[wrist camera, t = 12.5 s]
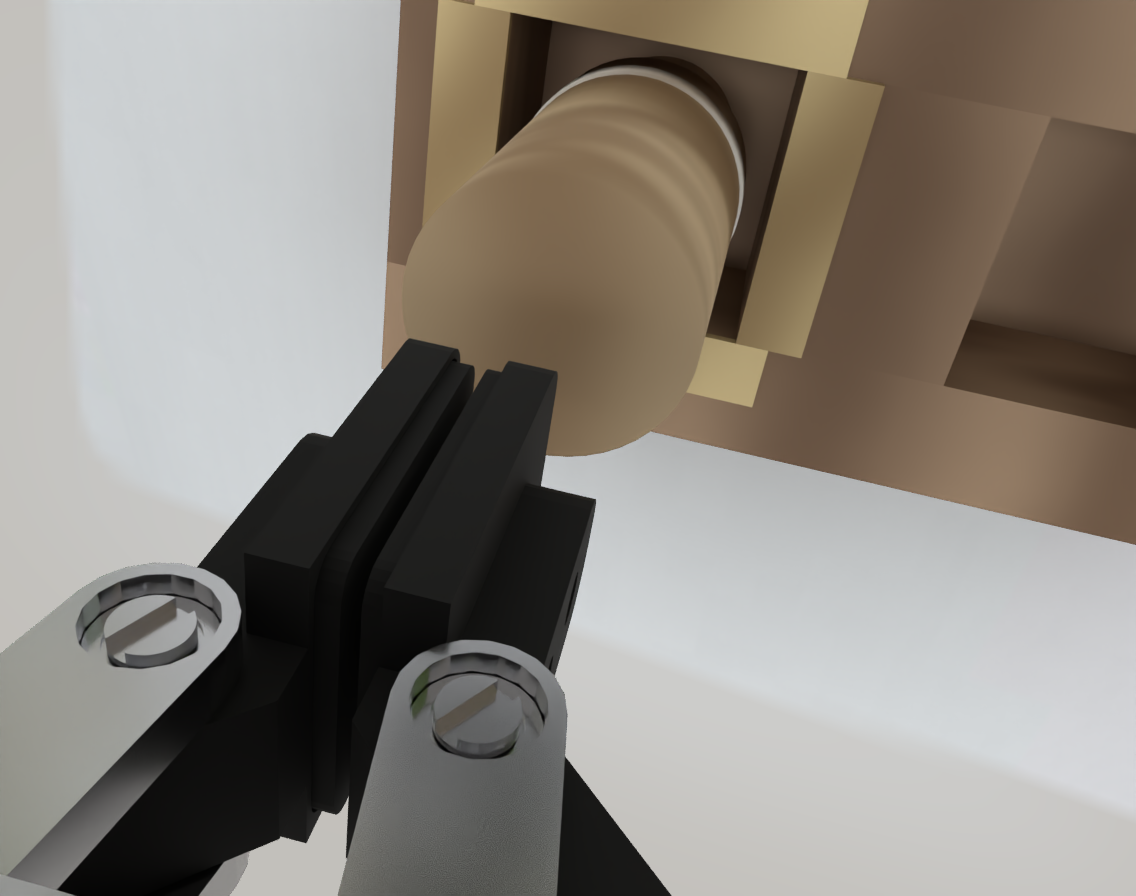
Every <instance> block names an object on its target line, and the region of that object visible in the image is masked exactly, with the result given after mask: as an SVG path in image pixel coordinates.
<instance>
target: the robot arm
mask: <svg viewBox="0 0 1136 896" xmlns="http://www.w3.org/2000/svg"><path fill="white" fill-rule="evenodd" d="M474 380H475V368H474V366H473V365H468V364H464V363H460V352H459V350H458V349H456V348H452V347H447V346H443V345H438V344H434V343H429V342H425V341H421V340H416V339H411V338H409V339H408V340H407V341H405V343H404V344H403V345H402V347H401V348H400V349H399V351H398V352H397V353H396V354H395V356H394V357H393V358H392V360H391V361H390V362H389V364H388V365H387V366H386V368H385V369H384V370H383V371H382V373H381V374H380V375H379V377H378V378H377V379H376V381H375V382H374V383H373V384H372V386H371V387H370V388H369V390H368V391H367V392H366V394H365V395H364V396H363V398H362V399H361V400H360V401H359V403H358V404H357V405H356V407H355V408H354V409H353V411H352V412H351V413H350V415H349V416H348V417H347V418H346V420H345V421H344V422H343V424H342V425H341V426H340V428H339V429H338V430H337V431H336V433H335V434H334V435H333V437H329V436H325V435H321V434H316V433H311V434H307V435H306V436H305V437H304V438H302V439H301V440H300V441H299V443H298V444H297V445H296V446H295V447H294V449H293V450H292V451H291V452H290V454H289V455H288V456H287V457H286V458H285V460H284V461H283V462H282V463H281V465H280V466H279V467H278V468H277V470H276V471H275V472H274V473H273V474H272V476H271V477H270V478H269V479H268V481H267V482H266V483H265V484H264V486H263V487H262V488H261V489H260V490H259V492H258V493H257V494H256V495H255V497H254V498H253V499H252V500H251V501H250V503H249V504H248V505H247V506H246V508H245V509H244V510H243V511H242V513H241V514H240V515H239V516H238V517H237V519H236V520H235V521H234V522H233V524H232V525H231V526H230V527H229V529H228V530H227V531H226V532H225V533H224V535H223V536H222V537H221V538H220V540H219V541H218V542H217V543H216V545H215V546H214V547H213V548H212V549H211V551H210V552H209V553H208V554H207V556H206V557H205V558H204V559H203V561H202V562H201V563H200V564H199V566H198V567H193V566H189V565H185V564H178V563H149V564H143V565H137V566H131V567H126V568H123V569H120V570H117V571H115V572H112V573H109V574H106V575H104V576H101V577H99V578H97V579H96V580H94V581H93V582H91V583H90V584H88V585H86V586H85V587H83V588H82V589H80V590H78V591H77V592H76V593H75V594H73V595H72V596H71V597H70V598H68V599H67V600H66V601H65V602H63V603H62V604H61V605H60V606H59V607H57V608H56V609H55V610H54V611H52V612H51V613H50V614H49V615H47V616H46V617H45V618H44V619H43V620H41V621H40V622H39V623H37V624H36V625H35V626H34V627H33V628H31V629H30V630H29V631H28V632H26V633H25V634H24V635H23V636H22V637H20V638H19V639H18V640H16V641H15V642H14V643H13V644H12V645H10V646H9V647H8V648H7V649H5V650H4V651H3V652H2V653H0V896H229V895H230V894H231V893H232V891H233V890H234V888H235V887H236V886H237V884H238V882H239V880H240V878H241V876H242V875H243V873H244V871H245V869H246V867H247V864H248V857H249V851H251V850H254V849H256V848H258V847H261V846H263V845H266V844H268V843H270V842H273V841H275V840H277V839H279V838H280V836H281V837H285V838H289V839H293V840H296V841H300V842H304V843H306V842H307V841H308V839H309V836H310V835H311V832H312V830H313V828H314V826H315V824H316V822H317V820H318V818H319V816H320V814H321V812H322V811H325V812H328V813H332V814H338V813H339V812H340V811H341V810H342V808H343V806H344V804H345V802H346V800H347V798H348V796H349V802H348V826H347V846H346V858H347V861H346V865H345V870H344V873H343V877H342V881H341V885H340V889H339V892H338V896H671V894H670V893H669V892H668V891H667V889H666V888H665V887H664V885H663V884H662V883H661V881H660V880H659V879H658V877H657V876H656V875H655V874H654V872H653V871H652V870H651V869H650V867H649V866H648V864H647V863H646V862H645V861H644V859H643V858H642V857H641V855H640V854H639V853H638V851H637V850H636V849H635V847H634V846H633V845H632V843H630V841H629V839H628V838H627V837H626V836H625V834H624V833H623V832H622V830H621V829H620V828H619V826H618V825H617V824H616V822H615V821H614V820H613V818H612V817H611V816H610V815H609V813H608V812H607V811H606V809H605V808H604V807H603V805H602V804H601V803H600V802H599V800H598V799H597V798H596V796H595V795H594V794H593V792H592V791H591V790H590V788H589V787H588V786H587V784H586V783H585V782H584V781H583V779H582V778H581V777H580V775H579V774H578V773H577V771H576V770H575V769H574V768H573V766H572V765H571V764H570V762H569V761H568V760H567V759H566V757H565V748H566V730H567V709H566V701H565V694H564V692H563V691H562V689H561V687H560V685H559V684H558V682H557V680H556V678H555V673H556V669H557V666H558V662H559V659H560V656H561V652H562V649H563V645H564V642H565V638H566V635H567V631H568V628H569V624H570V621H571V617H572V613H573V609H574V605H575V601H576V597H577V593H578V589H579V585H580V580H581V576H582V571H583V567H584V562H585V557H586V553H587V548H588V543H589V538H590V533H591V528H592V523H593V518H594V512H595V506H596V499H592V498H587V497H583V496H579V495H575V494H571V493H566V492H562V491H558V490H554V489H549V488H545V487H541V481H542V475H543V469H544V463H545V456H546V450H547V444H548V438H549V432H550V426H551V419H552V413H553V407H554V401H555V395H556V388H557V380H558V373H557V371H553V370H549V369H545V368H540V367H536V366H531V365H527V364H522V363H518V362H514V361H508V362H507V364H506V365H505V367H504V369H503V371H502V372H499V371H495V370H491V369H487V370H486V371H485V373H484V374H483V376H482V378H481V380H480V381H479V383H478V385H477V386H476V388H475V390H474V392H473V389H474Z"/></svg>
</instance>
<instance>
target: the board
mask: <svg viewBox="0 0 1136 896" xmlns="http://www.w3.org/2000/svg"><path fill="white" fill-rule="evenodd" d="M652 56H670V57H676V58H680V59H684V60H686V61H689V62H691V63H693V64H695V65H697V66H698V67H700V68H702V69H703V70H704V71H705V72H707V73H708V74H709V75H710V76H711V77H712V78H713V79H714V80H715V81H716V82H717V83H718V85H719V86H720V87H721V89H722V90H723V92H724V94H725V96H726V98H727V100H728V102H729V105H730V108H731V111H732V113H733V115H734V117H735V118H736V120H737V123H738V126H739V128H740V131H741V133H742V137H743V142H744V146H745V153H746V179H745V185H744V197H743V203H742V208H741V212H740V216H739V219H738V223H737V226H736V229H735V232H734V234H733V236H732V238H731V241H730V244H729V248H728V252H727V255H726V259H725V263H724V267H723V271H722V274H721V278H720V282H719V286H718V290H717V294H716V297H715V301H714V305H713V309H712V313H711V316H710V320H709V324H708V328H707V332H706V335H705V339H704V343H703V347H702V351H701V355H700V358H699V362H698V365H697V368H696V371H695V375H694V377H693V379H692V381H691V383H690V385H689V387H688V390H687V392H686V393H685V395H684V396H683V398H682V399H681V401H680V402H679V404H678V405H677V407H676V408H675V409H674V410H673V411H672V412H671V413H670V414H669V415H668V417H667V418H666V419H665V420H664V421H662V422H661V423H660V424H659V425H658V426H656V427H655V428H654V429H653V430H652V431H651V432H656V433H660V434H664V435H668V436H673V437H677V438H681V439H686V440H690V441H694V442H698V443H703V444H707V445H711V446H715V447H720V448H724V449H728V450H733V451H737V452H741V453H745V454H750V455H754V456H758V457H763V458H767V459H771V460H775V461H780V462H784V463H788V464H793V465H797V466H801V467H805V468H810V469H814V470H818V471H822V472H827V473H831V474H835V475H840V476H844V477H848V478H852V479H857V480H861V481H865V482H870V483H874V484H878V485H882V486H887V487H891V488H895V489H900V490H904V491H908V492H912V493H917V494H921V495H925V496H929V497H934V498H938V499H942V500H947V501H951V502H955V503H959V504H964V505H968V506H972V507H977V508H981V509H985V510H989V511H994V512H998V513H1002V514H1007V515H1011V516H1015V517H1019V518H1024V519H1028V520H1032V521H1036V522H1041V523H1045V524H1049V525H1054V526H1058V527H1062V528H1066V529H1071V530H1075V531H1079V532H1084V533H1088V534H1092V535H1096V536H1101V537H1105V538H1109V539H1114V540H1118V541H1122V542H1126V543H1131V544H1135V545H1136V0H401V8H400V27H399V46H398V65H397V84H396V103H395V122H394V141H393V160H392V179H391V198H390V217H389V236H388V255H387V274H386V293H385V312H384V331H383V350H382V369H385V368H386V366H387V365H388V364H389V362H390V361H391V360H392V358H393V357H394V356H395V354H396V353H397V352H398V351H399V349H400V348H401V347H402V345H403V344H404V343H405V341H407V340H408V337H407V333H406V330H405V325H404V318H403V312H402V286H403V277H404V271H405V268H406V264H407V260H408V256H409V254H410V251H411V249H412V247H413V244H414V242H415V240H416V238H417V236H418V235H419V233H420V231H421V230H422V228H423V227H424V225H425V223H426V222H427V221H428V220H429V219H430V217H431V216H432V215H433V214H434V213H435V212H436V210H437V209H438V208H439V207H440V206H441V205H442V204H444V203H445V202H446V201H447V200H448V199H449V198H450V197H451V196H452V195H453V194H454V193H455V192H456V191H457V190H458V189H459V188H460V187H462V186H463V185H464V184H465V183H466V182H467V181H468V180H469V179H470V178H471V177H472V176H473V175H474V174H475V173H476V172H477V171H478V170H480V169H481V168H482V167H483V166H484V165H485V164H486V163H487V162H488V161H489V160H490V159H491V158H492V157H493V156H494V155H495V154H496V153H497V152H499V151H500V150H501V149H502V148H503V147H504V146H505V145H506V144H507V143H508V142H509V141H510V140H511V139H512V138H513V137H514V136H515V135H517V134H518V133H519V132H520V131H521V130H522V129H523V128H524V127H525V126H526V125H527V124H528V123H529V122H530V121H531V120H532V119H533V118H534V116H535V115H536V114H537V113H538V111H539V110H540V109H541V108H542V107H543V106H544V104H545V103H546V102H547V101H549V100H550V99H551V98H552V97H553V96H554V95H555V94H556V93H557V92H559V91H560V90H561V89H562V88H563V87H564V86H566V85H568V84H569V83H571V82H572V81H574V80H575V79H576V78H578V77H579V76H581V75H582V74H584V73H585V72H587V71H588V70H590V69H592V68H594V67H597V66H599V65H601V64H603V63H607V62H610V61H613V60H617V59H623V58H629V57H652Z"/></svg>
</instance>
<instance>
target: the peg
mask: <svg viewBox="0 0 1136 896" xmlns="http://www.w3.org/2000/svg"><path fill="white" fill-rule="evenodd" d="M745 179H746V153H745V146H744V142H743V137H742V133H741V131H740V128H739V126H738V123H737V120H736V118H735V117H734V115H733V113H732V111H731V108H730V105H729V102H728V100H727V98H726V96H725V94H724V92H723V90H722V89H721V87H720V86H719V85H718V83H717V82H716V81H715V80H714V79H713V78H712V77H711V76H710V75H709V74H708V73H707V72H705V71H704V70H703V69H702V68H700V67H698V66H697V65H695V64H693V63H691V62H689V61H686V60H684V59H680V58H676V57H670V56H652V57H629V58H623V59H617V60H613V61H610V62H607V63H603V64H601V65H599V66H597V67H594V68H592V69H590V70H588V71H587V72H585V73H584V74H582V75H581V76H579V77H578V78H576V79H575V80H574V81H572V82H571V83H569V84H568V85H566V86H564V87H563V88H562V89H561V90H560V91H559V92H557V93H556V94H555V95H554V96H553V97H552V98H551V99H550V100H549V101H547V102H546V103H545V104H544V106H543V107H542V108H541V109H540V110H539V111H538V113H537V114H536V115H535V116H534V118H533V119H532V120H531V121H530V122H529V123H528V124H527V125H526V126H525V127H524V128H523V129H522V130H521V131H520V132H519V133H518V134H517V135H515V136H514V137H513V138H512V139H511V140H510V141H509V142H508V143H507V144H506V145H505V146H504V147H503V148H502V149H501V150H500V151H499V152H497V153H496V154H495V155H494V156H493V157H492V158H491V159H490V160H489V161H488V162H487V163H486V164H485V165H484V166H483V167H482V168H481V169H480V170H478V171H477V172H476V173H475V174H474V175H473V176H472V177H471V178H470V179H469V180H468V181H467V182H466V183H465V184H464V185H463V186H462V187H460V188H459V189H458V190H457V191H456V192H455V193H454V194H453V195H452V196H451V197H450V198H449V199H448V200H447V201H446V202H445V203H444V204H442V205H441V206H440V207H439V208H438V209H437V210H436V212H435V213H434V214H433V215H432V216H431V217H430V219H429V220H428V221H427V222H426V223H425V225H424V227H423V228H422V230H421V231H420V233H419V235H418V236H417V238H416V240H415V242H414V244H413V247H412V249H411V251H410V254H409V256H408V260H407V264H406V268H405V271H404V277H403V286H402V312H403V318H404V325H405V330H406V333H407V337H408V339H409V338H411V339H416V340H421V341H425V342H429V343H434V344H438V345H443V346H447V347H452V348H456V349H458V350H459V352H460V363H464V364H468V365H473V366H474V368H475V380H474V389H473V392H474V390H475V388H476V386H477V385H478V383H479V381H480V380H481V378H482V376H483V374H484V373H485V371H486V370H487V369H491V370H495V371H499V372H502V371H503V369H504V367H505V365H506V364H507V362H508V361H514V362H518V363H522V364H527V365H531V366H536V367H540V368H545V369H549V370H553V371H557V373H558V380H557V388H556V395H555V401H554V407H553V413H552V419H551V426H550V432H549V438H548V444H547V450H546V455H550V456H565V457H570V456H587V455H592V454H598V453H604V452H607V451H610V450H613V449H617V448H620V447H622V446H624V445H627V444H629V443H631V442H633V441H636V440H637V439H639V438H641V437H642V436H644V435H645V434H647V433H649V432H650V431H652V430H653V429H654V428H655V427H656V426H658V425H659V424H660V423H661V422H662V421H664V420H665V419H666V418H667V417H668V415H669V414H670V413H671V412H672V411H673V410H674V409H675V408H676V407H677V405H678V404H679V402H680V401H681V399H682V398H683V396H684V395H685V393H686V392H687V390H688V387H689V385H690V383H691V381H692V379H693V377H694V375H695V371H696V368H697V365H698V362H699V358H700V355H701V351H702V347H703V343H704V339H705V335H706V332H707V328H708V324H709V320H710V316H711V313H712V309H713V305H714V301H715V297H716V294H717V290H718V286H719V282H720V278H721V274H722V271H723V267H724V263H725V259H726V255H727V252H728V248H729V244H730V241H731V238H732V236H733V234H734V232H735V229H736V226H737V223H738V219H739V216H740V212H741V208H742V203H743V197H744V185H745Z"/></svg>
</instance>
